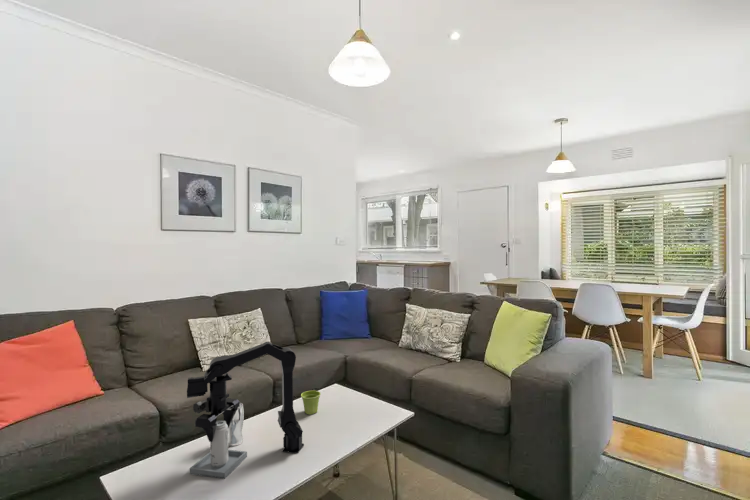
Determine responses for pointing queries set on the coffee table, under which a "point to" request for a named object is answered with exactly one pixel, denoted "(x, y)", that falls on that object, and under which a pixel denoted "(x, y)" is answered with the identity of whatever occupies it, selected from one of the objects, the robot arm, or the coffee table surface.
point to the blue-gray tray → (207, 469)
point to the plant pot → (310, 401)
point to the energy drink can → (219, 445)
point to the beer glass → (236, 427)
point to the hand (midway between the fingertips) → (218, 435)
